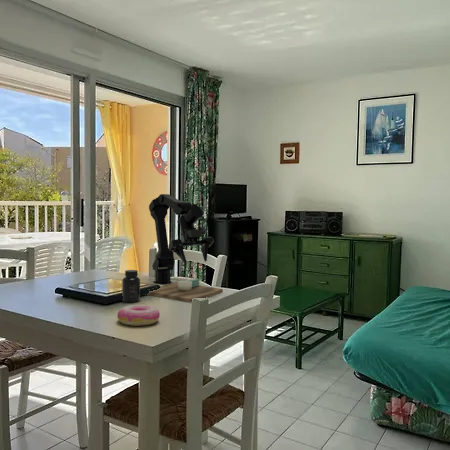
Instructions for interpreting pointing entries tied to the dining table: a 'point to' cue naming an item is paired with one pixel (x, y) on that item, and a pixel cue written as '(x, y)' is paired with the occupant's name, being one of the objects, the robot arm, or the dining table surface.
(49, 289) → the dining table surface
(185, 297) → the walnut base
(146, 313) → the donut
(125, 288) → the supplement bottle
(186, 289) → the green and white block
